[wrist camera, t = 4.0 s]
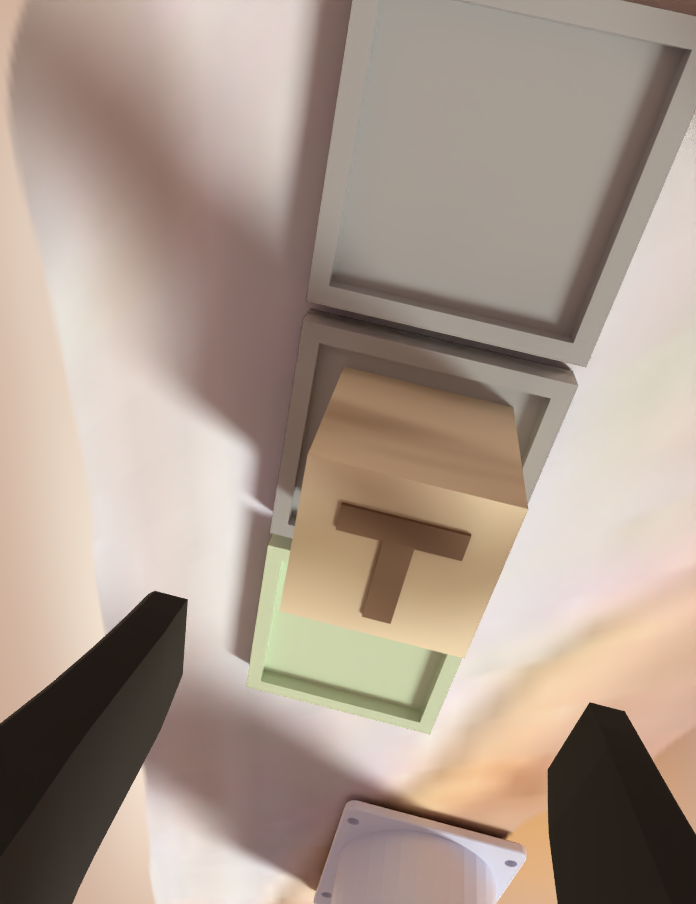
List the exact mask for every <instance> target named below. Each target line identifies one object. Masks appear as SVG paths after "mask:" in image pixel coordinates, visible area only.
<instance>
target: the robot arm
mask: <svg viewBox="0 0 696 904" xmlns="http://www.w3.org/2000/svg"><path fill="white" fill-rule="evenodd" d="M187 602H188V599H184V598H180V597H176V596H172V595H169V594H165V593H161V592H157V591H154V592H152V593H150V594H148V595H147V596H146V597H145V598H144V599H143V600H142V601H141V602H140V603H139V604H138V605H137V606H136V607H135V608H134V609H133V610H132V611H131V612H130V613H129V614H128V615H127V616H126V617H125V618H124V619H123V620H122V621H121V622H120V623H119V624H117V625H116V626H115V627H114V628H113V629H112V630H111V631H110V632H109V633H108V634H107V635H106V636H105V637H103V638H102V639H101V640H100V641H99V642H98V643H97V644H96V645H95V646H94V647H93V648H92V649H91V650H89V651H88V652H87V653H86V654H85V655H83V656H82V657H81V658H80V659H79V660H78V661H76V662H75V663H74V664H73V665H72V666H71V667H70V668H68V669H67V670H66V671H65V672H64V673H63V674H62V675H60V676H59V677H58V678H57V679H56V680H54V681H53V682H52V683H51V684H50V685H49V686H47V687H46V688H45V689H44V690H42V691H41V692H40V693H38V694H37V695H36V696H35V697H33V698H32V699H31V700H30V701H28V702H27V703H26V704H25V705H23V706H22V707H21V708H20V709H18V710H17V711H16V712H14V713H13V714H12V715H11V716H9V717H8V718H7V719H5V720H4V721H3V722H2V723H0V904H72V903H73V901H74V898H75V896H76V894H77V891H78V889H79V887H80V884H81V883H82V880H83V878H84V876H85V874H86V872H87V870H88V868H89V866H90V864H91V862H92V860H93V858H94V856H95V854H96V852H97V850H98V848H99V846H100V844H101V842H102V840H103V838H104V837H105V835H106V833H107V831H108V829H109V827H110V825H111V823H112V821H113V819H114V818H115V816H116V814H117V812H118V810H119V808H120V806H121V804H122V802H123V801H124V799H125V797H126V795H127V793H128V791H129V789H130V787H131V785H132V783H133V781H134V780H135V778H136V776H137V774H138V772H139V770H140V768H141V766H142V764H143V762H144V761H145V759H146V757H147V755H148V753H149V751H150V749H151V747H152V745H153V743H154V741H155V739H156V737H157V735H158V733H159V732H160V730H161V727H162V725H163V722H164V720H165V717H166V715H167V712H168V710H169V707H170V705H171V702H172V700H173V697H174V695H175V692H176V690H177V687H178V685H179V682H180V679H181V677H182V674H183V660H184V645H185V631H186V616H187ZM548 824H549V839H550V847H551V855H552V863H553V871H554V879H555V886H556V894H557V900H558V904H696V834H695V832H694V831H693V829H692V827H691V826H690V824H689V823H688V821H687V819H686V817H685V816H684V814H683V812H682V811H681V809H680V807H679V806H678V804H677V802H676V800H675V799H674V797H673V795H672V793H671V792H670V790H669V788H668V787H667V785H666V783H665V781H664V779H663V778H662V776H661V774H660V772H659V771H658V769H657V767H656V766H655V764H654V762H653V760H652V758H651V757H650V755H649V753H648V751H647V750H646V748H645V746H644V744H643V742H642V741H641V739H640V737H639V735H638V734H637V732H636V730H635V728H634V727H633V725H632V723H631V721H630V720H629V718H628V716H627V715H626V713H625V711H621V710H617V709H613V708H609V707H606V706H602V705H598V704H594V703H589V704H588V706H587V708H586V709H585V711H584V712H583V714H582V716H581V717H580V719H579V720H578V722H577V724H576V725H575V727H574V728H573V730H572V732H571V733H570V735H569V736H568V738H567V740H566V741H565V743H564V744H563V746H562V748H561V749H560V751H559V752H558V754H557V756H556V757H555V759H554V760H553V762H552V764H551V765H550V767H549V768H548ZM525 860H526V849H525V847H524V846H522V845H521V844H518V843H515V842H511V841H508V840H504V839H500V838H497V837H493V836H489V835H485V834H482V833H478V832H474V831H470V830H466V829H463V828H459V827H455V826H451V825H448V824H444V823H440V822H436V821H433V820H429V819H425V818H421V817H418V816H414V815H410V814H406V813H402V812H399V811H395V810H391V809H387V808H384V807H380V806H376V805H372V804H369V803H365V802H361V801H356V800H352V801H349V802H347V803H346V804H345V807H344V810H343V813H342V816H341V819H340V822H339V825H338V828H337V831H336V834H335V837H334V840H333V842H332V845H331V848H330V851H329V854H328V857H327V860H326V863H325V866H324V869H323V872H322V875H321V878H320V881H319V884H318V887H317V890H316V893H315V897H314V903H315V904H496V903H497V901H498V900H499V898H500V897H501V896H502V894H503V892H504V891H505V890H506V888H507V887H508V885H509V883H510V882H511V881H512V879H513V878H514V876H515V875H516V874H517V872H518V871H519V869H520V868H521V866H522V865H523V863H524V862H525Z"/></svg>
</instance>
